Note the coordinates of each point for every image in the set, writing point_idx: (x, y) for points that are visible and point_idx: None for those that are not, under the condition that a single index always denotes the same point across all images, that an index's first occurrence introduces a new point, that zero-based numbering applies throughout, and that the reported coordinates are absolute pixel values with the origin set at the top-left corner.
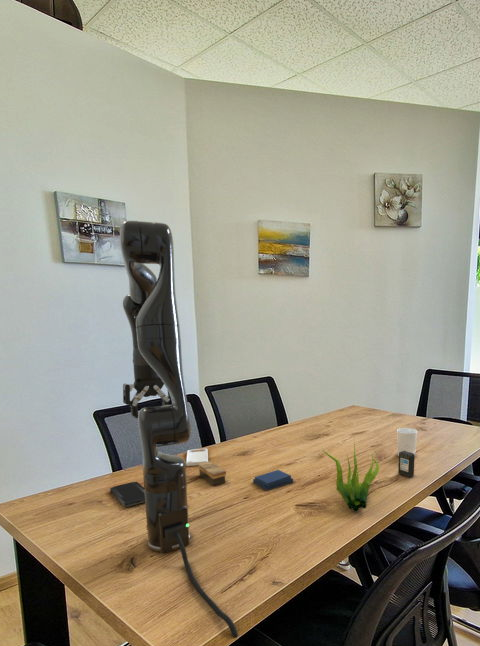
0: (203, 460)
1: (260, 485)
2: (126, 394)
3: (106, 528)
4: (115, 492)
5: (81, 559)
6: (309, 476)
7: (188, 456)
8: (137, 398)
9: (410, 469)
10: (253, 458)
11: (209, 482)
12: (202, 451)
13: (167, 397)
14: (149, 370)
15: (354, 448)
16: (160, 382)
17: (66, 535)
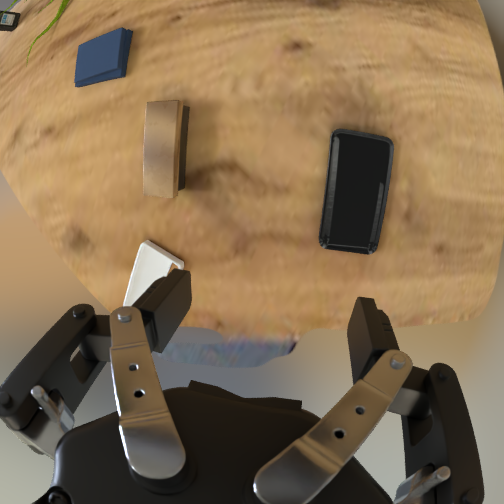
0: (145, 264)
1: (127, 48)
2: (467, 431)
3: (440, 90)
4: (379, 220)
5: (478, 42)
6: (60, 59)
7: None
8: (385, 394)
9: (12, 12)
10: (73, 202)
11: (187, 128)
12: None
13: (111, 328)
14: None
15: (12, 3)
16: (77, 467)
17: (484, 126)
